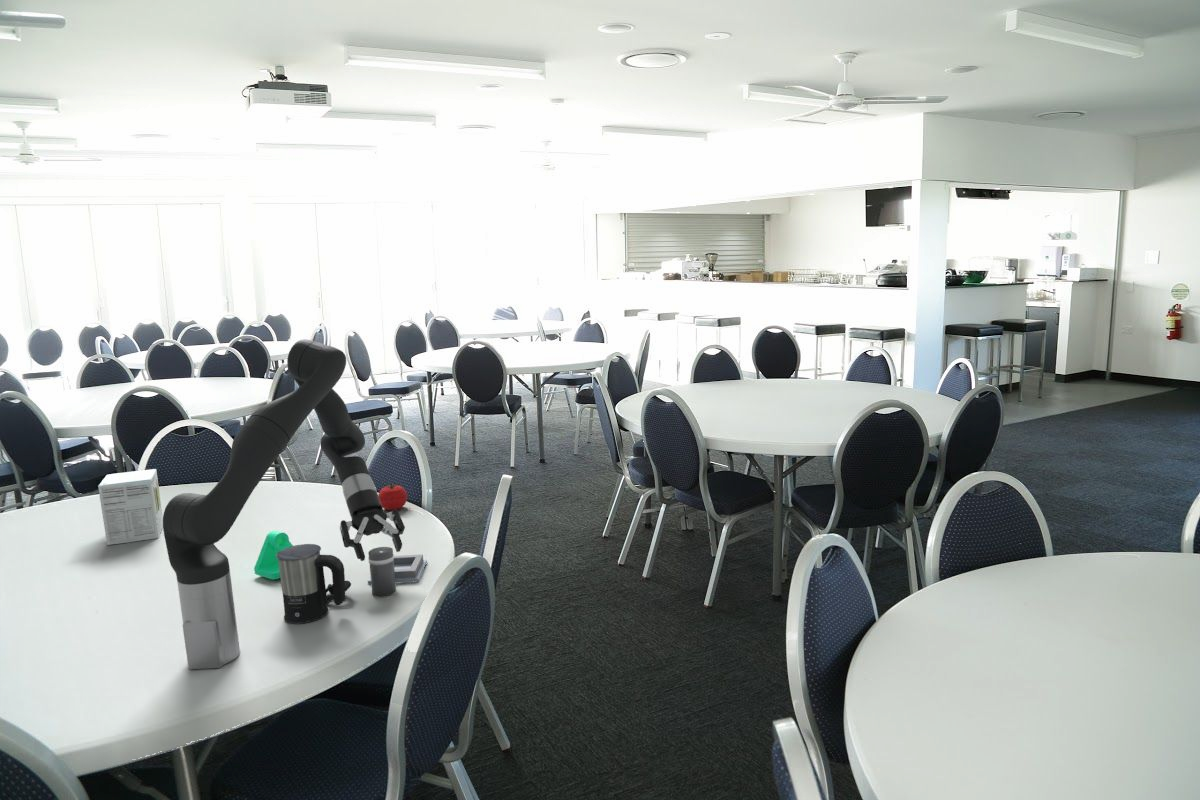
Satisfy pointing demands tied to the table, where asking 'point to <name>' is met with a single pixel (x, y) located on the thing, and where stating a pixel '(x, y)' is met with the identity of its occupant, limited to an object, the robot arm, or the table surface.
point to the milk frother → (309, 582)
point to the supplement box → (131, 506)
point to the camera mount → (271, 555)
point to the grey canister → (382, 571)
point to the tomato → (392, 497)
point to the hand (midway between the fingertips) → (381, 554)
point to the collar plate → (407, 568)
